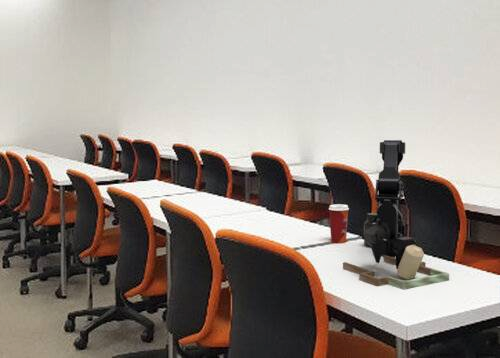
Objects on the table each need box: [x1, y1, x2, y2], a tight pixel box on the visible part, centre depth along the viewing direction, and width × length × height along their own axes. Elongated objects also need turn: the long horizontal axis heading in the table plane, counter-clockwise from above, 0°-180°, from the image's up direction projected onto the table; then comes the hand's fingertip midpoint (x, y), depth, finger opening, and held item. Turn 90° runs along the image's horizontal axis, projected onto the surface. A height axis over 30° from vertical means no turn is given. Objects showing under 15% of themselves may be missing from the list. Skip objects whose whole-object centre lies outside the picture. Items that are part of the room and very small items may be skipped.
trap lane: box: [342, 255, 450, 290], centre depth 200 cm, size 26×28×2 cm
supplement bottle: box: [363, 212, 379, 249], centre depth 239 cm, size 7×7×12 cm
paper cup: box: [328, 203, 350, 244], centre depth 247 cm, size 8×8×14 cm
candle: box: [396, 244, 425, 280], centre depth 193 cm, size 6×6×10 cm
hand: (387, 266), depth 202 cm, fingers open, 9 cm apart
